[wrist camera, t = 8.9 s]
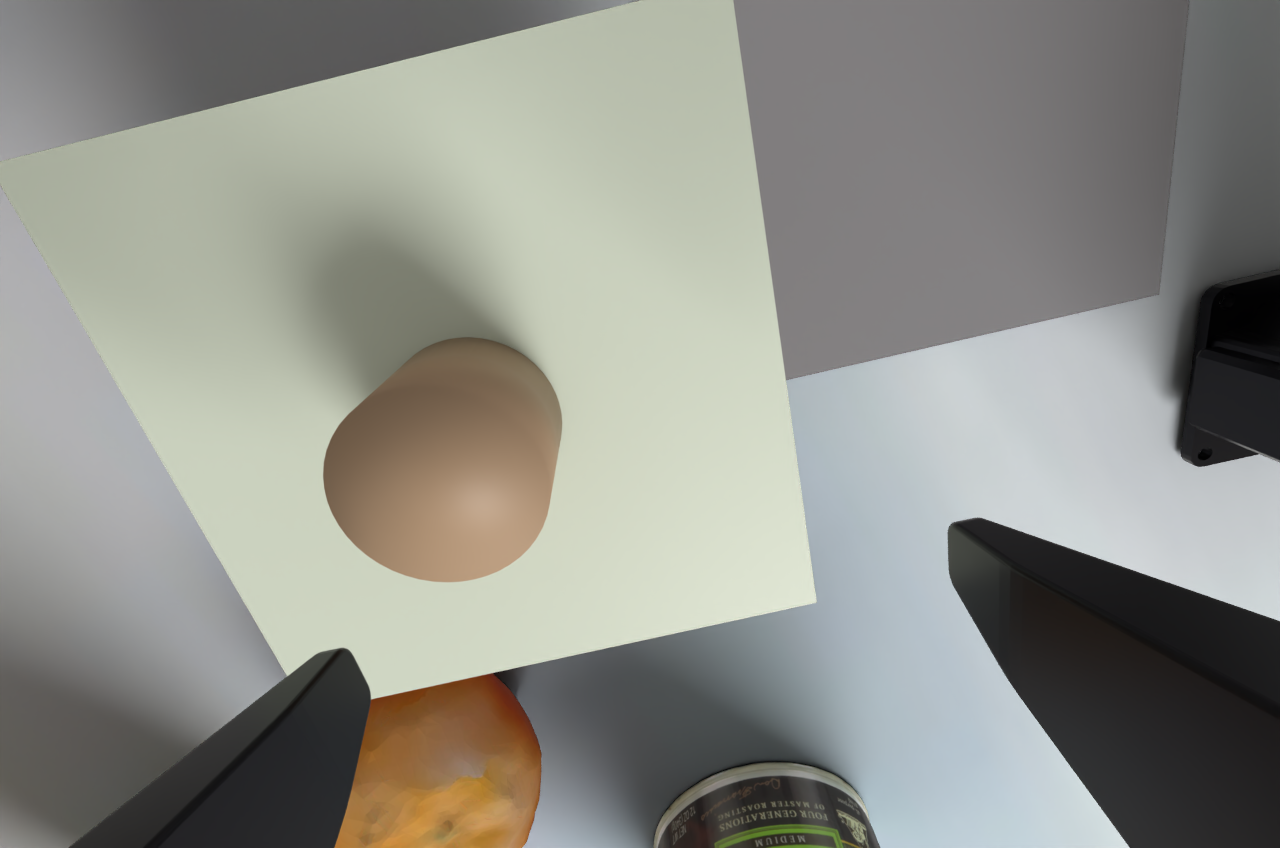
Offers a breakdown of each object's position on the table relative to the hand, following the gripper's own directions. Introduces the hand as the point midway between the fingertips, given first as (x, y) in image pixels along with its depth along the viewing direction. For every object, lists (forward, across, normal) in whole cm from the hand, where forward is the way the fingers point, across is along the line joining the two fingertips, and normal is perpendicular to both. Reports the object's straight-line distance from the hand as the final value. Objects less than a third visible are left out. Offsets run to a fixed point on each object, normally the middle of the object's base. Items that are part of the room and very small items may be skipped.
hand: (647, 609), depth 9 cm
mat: (+12, -10, -6) cm, 16 cm away
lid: (+6, +3, -2) cm, 7 cm away
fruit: (+12, +10, +12) cm, 19 cm away
